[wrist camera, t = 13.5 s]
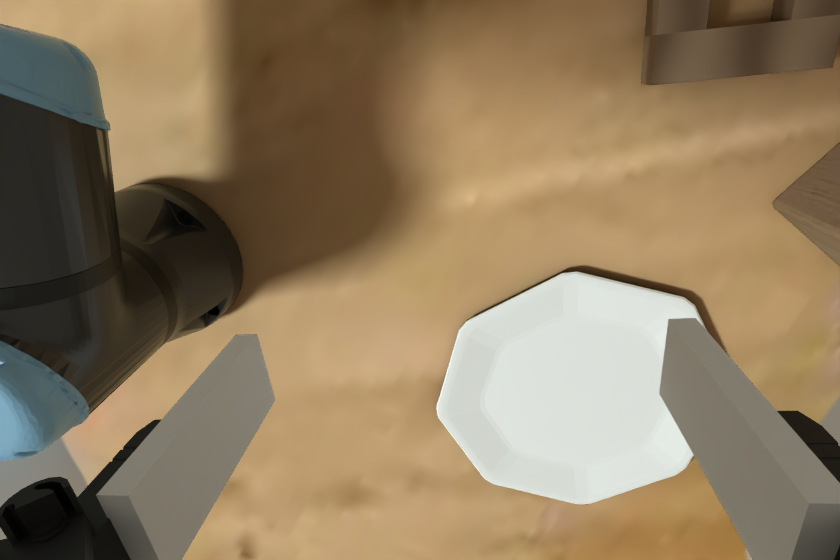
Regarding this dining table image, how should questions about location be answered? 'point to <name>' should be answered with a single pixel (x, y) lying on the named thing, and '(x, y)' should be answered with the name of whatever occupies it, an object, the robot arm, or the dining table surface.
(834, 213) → the wooden block
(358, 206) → the dining table surface
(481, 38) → the dining table surface
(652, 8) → the socket block
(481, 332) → the plate
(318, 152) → the dining table surface
